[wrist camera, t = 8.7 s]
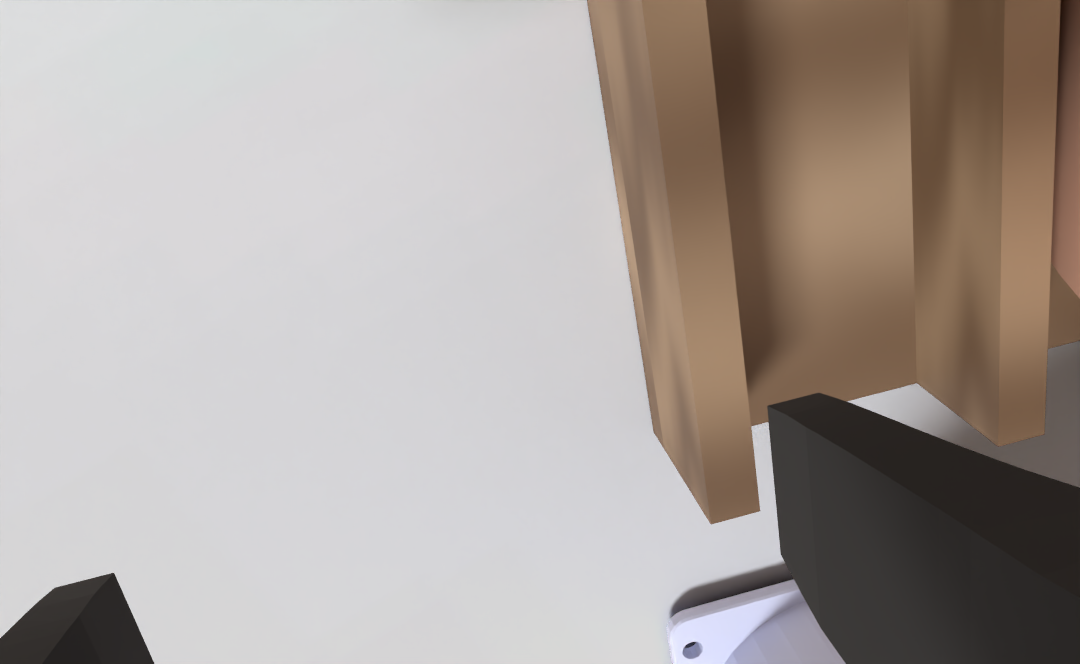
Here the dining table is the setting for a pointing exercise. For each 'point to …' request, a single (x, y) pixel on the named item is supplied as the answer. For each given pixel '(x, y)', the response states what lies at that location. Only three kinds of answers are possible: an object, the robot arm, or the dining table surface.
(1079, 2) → the peach cylinder disc
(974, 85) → the rack
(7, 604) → the dining table surface
